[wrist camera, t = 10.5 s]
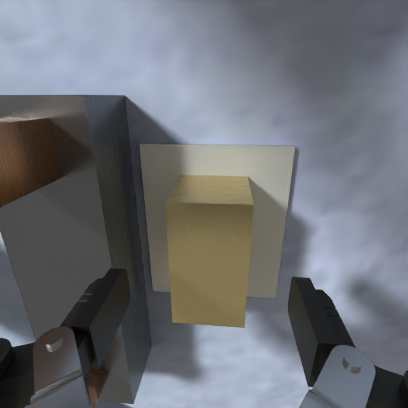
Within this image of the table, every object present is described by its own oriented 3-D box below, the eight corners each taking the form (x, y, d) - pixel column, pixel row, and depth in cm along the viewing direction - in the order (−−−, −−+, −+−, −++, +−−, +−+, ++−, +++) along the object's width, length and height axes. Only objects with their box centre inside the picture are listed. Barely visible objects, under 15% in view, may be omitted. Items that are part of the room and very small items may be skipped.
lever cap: (181, 174, 18) (165, 201, 13) (247, 176, 18) (253, 204, 13) (184, 272, 21) (172, 322, 16) (240, 275, 21) (244, 327, 16)
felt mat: (141, 143, 18) (139, 144, 17) (293, 145, 17) (295, 146, 17) (154, 287, 22) (152, 291, 22) (275, 295, 21) (275, 298, 21)
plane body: (29, 95, 17) (-259, 94, 7) (124, 95, 17) (-40, 93, 7) (86, 342, 26) (-9, 504, 15) (151, 347, 25) (97, 519, 15)
